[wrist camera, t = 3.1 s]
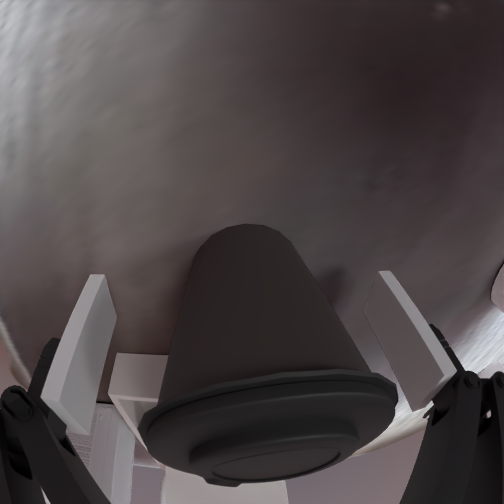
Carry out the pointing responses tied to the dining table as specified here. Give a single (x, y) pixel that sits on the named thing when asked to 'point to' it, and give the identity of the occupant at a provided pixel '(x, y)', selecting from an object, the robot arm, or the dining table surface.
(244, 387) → the coffee cup
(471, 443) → the robot arm
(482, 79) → the dining table surface
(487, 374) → the figurine
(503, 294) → the cup
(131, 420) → the base
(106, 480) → the photo printer
